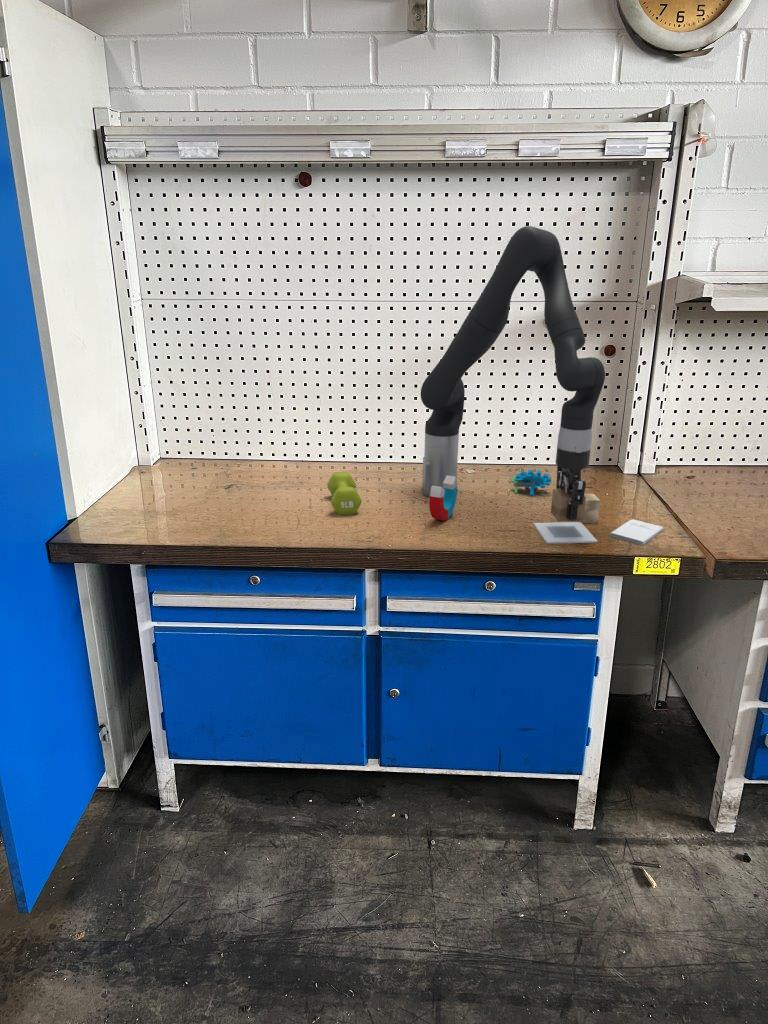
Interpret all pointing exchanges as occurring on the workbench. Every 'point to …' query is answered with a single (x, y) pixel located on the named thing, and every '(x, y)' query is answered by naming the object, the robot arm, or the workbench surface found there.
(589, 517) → the maple block
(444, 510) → the magnet
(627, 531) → the external hard drive
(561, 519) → the walnut block
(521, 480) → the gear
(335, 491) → the dumbbell
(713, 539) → the workbench surface
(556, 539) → the white square plate
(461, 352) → the robot arm
